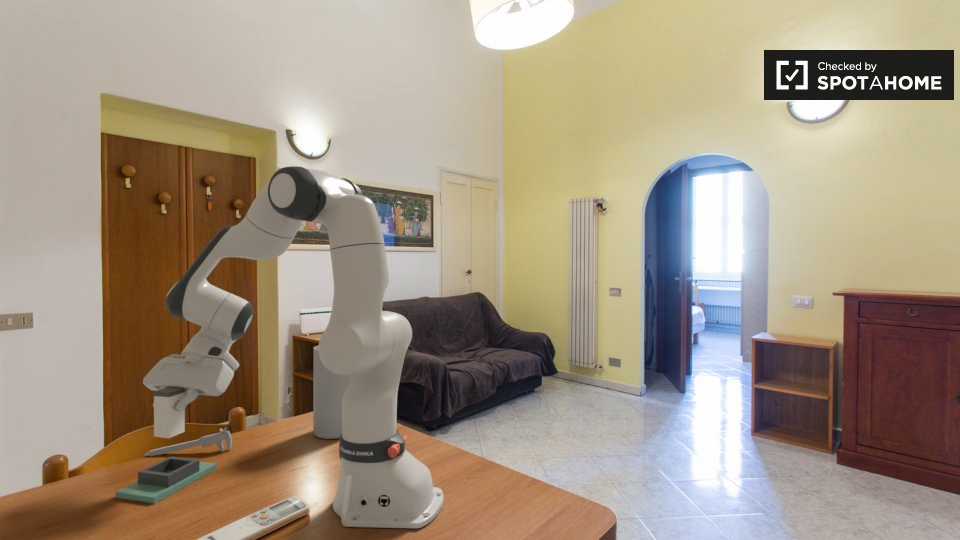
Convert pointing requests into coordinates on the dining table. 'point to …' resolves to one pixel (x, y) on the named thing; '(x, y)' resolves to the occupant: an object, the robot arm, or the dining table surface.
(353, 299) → the robot arm
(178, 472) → the socket
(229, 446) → the caliper
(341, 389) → the cylinder vase
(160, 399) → the plug
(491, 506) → the dining table surface
